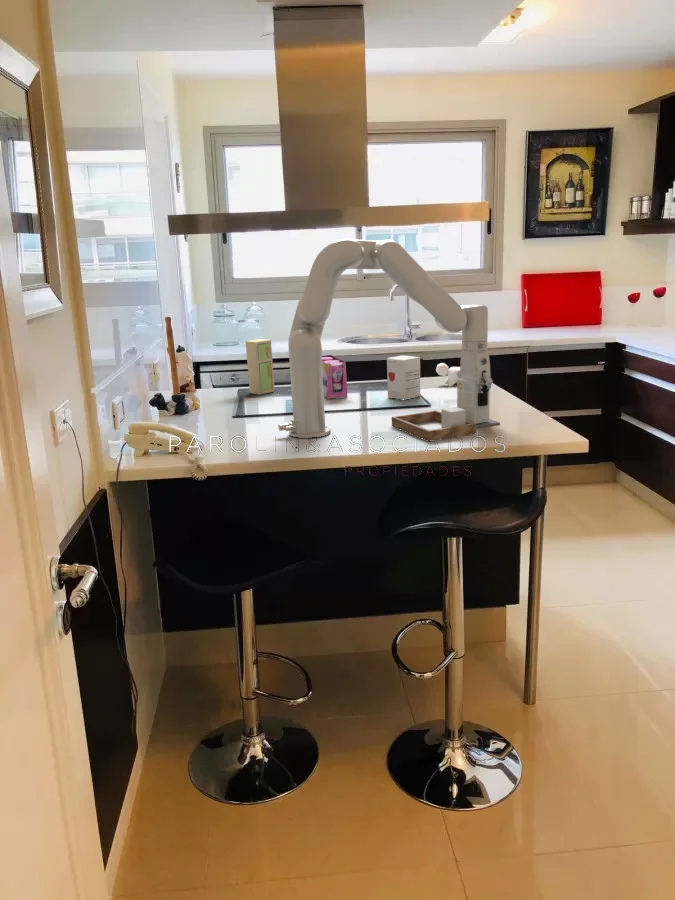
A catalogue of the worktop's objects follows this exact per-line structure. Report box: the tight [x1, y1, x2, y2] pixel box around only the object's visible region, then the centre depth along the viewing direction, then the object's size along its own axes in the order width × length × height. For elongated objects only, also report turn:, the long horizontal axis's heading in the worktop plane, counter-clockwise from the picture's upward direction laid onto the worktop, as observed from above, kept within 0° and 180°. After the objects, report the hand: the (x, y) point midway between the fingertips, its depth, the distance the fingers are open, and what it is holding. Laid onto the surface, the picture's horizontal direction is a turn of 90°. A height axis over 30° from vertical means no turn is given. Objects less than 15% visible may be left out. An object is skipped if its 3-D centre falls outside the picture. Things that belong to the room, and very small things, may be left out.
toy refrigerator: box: [245, 338, 276, 395], centre depth 279 cm, size 8×7×21 cm
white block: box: [441, 406, 465, 428], centre depth 206 cm, size 5×5×7 cm
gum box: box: [322, 354, 348, 400], centre depth 272 cm, size 24×8×14 cm, turn 15°
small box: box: [456, 378, 491, 424], centre depth 214 cm, size 8×6×13 cm
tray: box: [391, 409, 477, 442], centre depth 210 cm, size 16×22×3 cm
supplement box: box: [386, 355, 421, 401], centre depth 258 cm, size 9×9×15 cm
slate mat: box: [476, 418, 501, 429], centre depth 216 cm, size 11×11×1 cm
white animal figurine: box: [435, 362, 460, 387], centre depth 280 cm, size 9×8×15 cm
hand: (473, 403), depth 215 cm, fingers closed on small box, 8 cm apart
